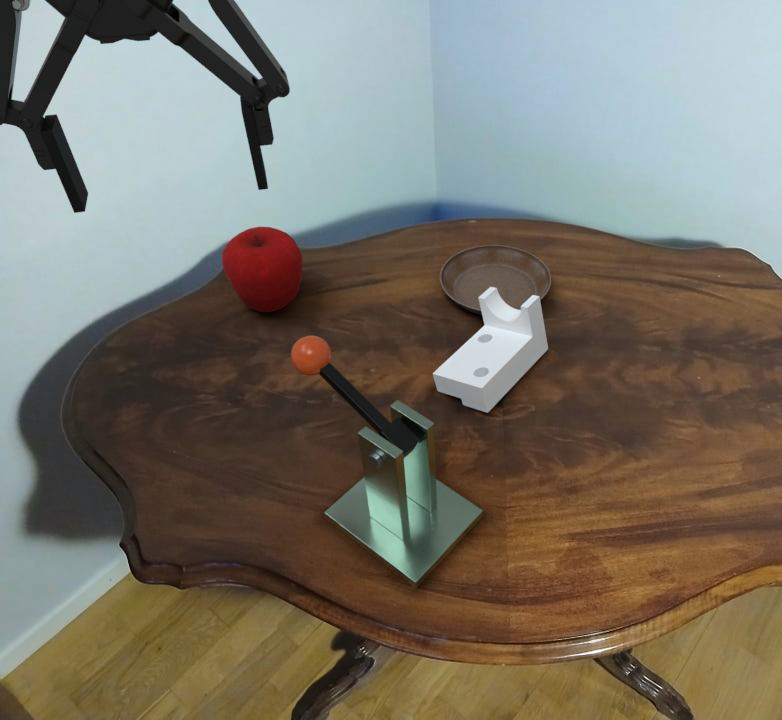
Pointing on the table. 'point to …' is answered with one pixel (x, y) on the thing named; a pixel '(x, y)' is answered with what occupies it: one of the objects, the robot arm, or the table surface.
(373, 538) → the clamp
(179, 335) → the table surface
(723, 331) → the table surface
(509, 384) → the bracket
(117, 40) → the robot arm
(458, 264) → the saucer
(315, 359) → the clamp lever
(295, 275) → the apple
